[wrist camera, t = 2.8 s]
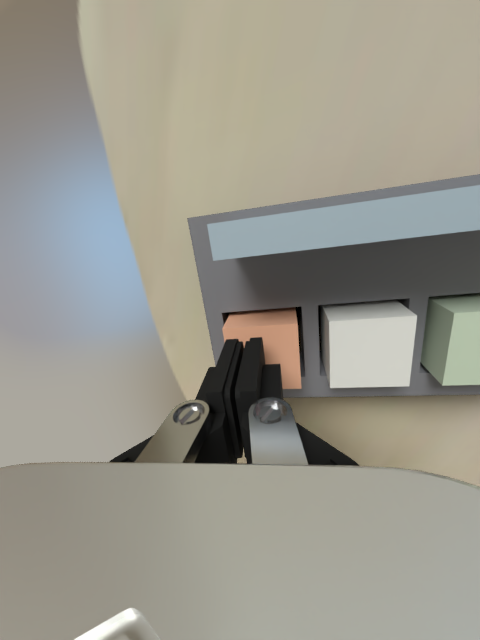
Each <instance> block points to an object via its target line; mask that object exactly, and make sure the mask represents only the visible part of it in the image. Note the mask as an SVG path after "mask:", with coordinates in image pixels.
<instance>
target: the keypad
mask: <svg viewBox="0 0 480 640" xmlns="http://www.w3.org/2000/svg"><path fill="white" fill-rule="evenodd" d="M187 219H188V224H189V229H190V235H191V240H192V245H193V250H194V255H195V261H196V266H197V271H198V276H199V282H200V287H201V292H202V297H203V303H204V308H205V313H206V318H207V323H208V329H209V334H210V339H211V344H212V350H213V355H214V360H215V365H216V364H217V362H218V359H219V356H220V354H221V351H222V349H223V346H224V343H225V342H224V336H223V331H222V328H223V326H224V324H225V322H226V320H227V318H228V316H229V315H230V313H231V312H238V311H250V310H263V309H276V308H289V307H299V313H300V331H301V349H302V351H299V355H300V372H301V389H283V398H284V397H349V396H413V395H477V394H480V385H449V386H442V385H441V384H440V383H439V382H438V381H437V379H436V378H435V377H434V376H433V375H432V374H431V373H430V372H429V371H428V370H427V369H426V368H425V367H424V366H423V365H422V363H421V362H420V361H421V354H422V346H423V338H424V330H425V322H426V314H427V306H428V298H429V297H430V296H443V295H456V294H469V293H480V174H478V175H471V176H465V177H458V178H452V179H445V180H438V181H432V182H425V183H418V184H412V185H405V186H398V187H392V188H385V189H378V190H372V191H365V192H358V193H352V194H345V195H338V196H332V197H325V198H318V199H312V200H305V201H299V202H292V203H285V204H279V205H272V206H265V207H259V208H252V209H245V210H239V211H232V212H225V213H219V214H212V215H205V216H199V217H192V218H187ZM392 299H396V300H397V301H398V302H400V303H401V304H402V305H404V306H405V307H406V308H408V309H409V310H410V311H412V312H413V313H414V314H416V315H417V322H416V331H415V340H414V349H413V358H412V366H411V375H410V384H409V386H403V387H356V388H330V386H329V382H328V379H327V375H326V371H325V368H324V364H323V361H322V350H319V324H318V305H328V304H340V303H353V302H366V301H379V300H392Z"/></svg>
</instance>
